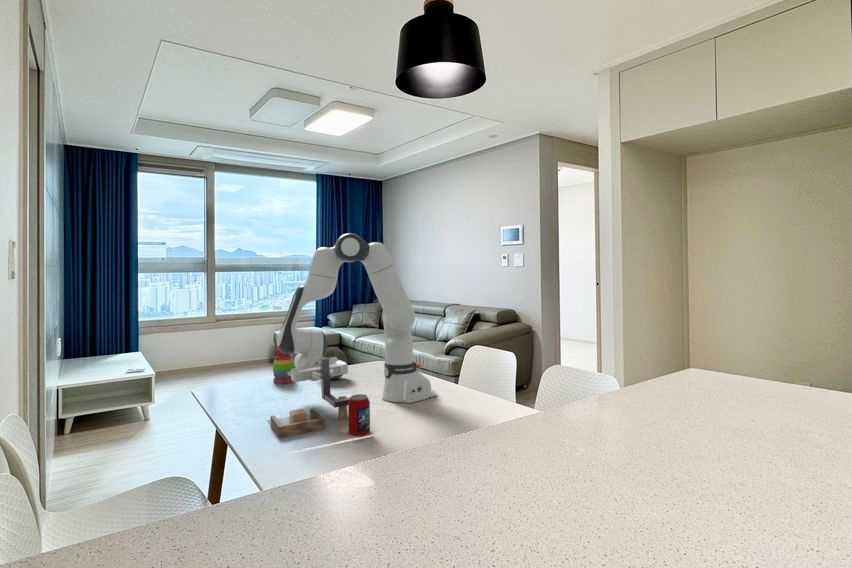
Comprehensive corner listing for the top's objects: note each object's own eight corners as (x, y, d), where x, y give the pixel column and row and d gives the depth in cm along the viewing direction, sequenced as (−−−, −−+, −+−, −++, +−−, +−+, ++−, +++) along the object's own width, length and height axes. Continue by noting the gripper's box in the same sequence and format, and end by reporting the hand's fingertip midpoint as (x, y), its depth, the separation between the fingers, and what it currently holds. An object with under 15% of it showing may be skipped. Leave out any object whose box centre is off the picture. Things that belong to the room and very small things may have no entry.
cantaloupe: (332, 374, 226) (332, 343, 225) (353, 378, 218) (353, 346, 217) (309, 380, 215) (309, 348, 214) (331, 385, 206) (330, 351, 206)
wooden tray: (308, 415, 166) (308, 403, 166) (324, 431, 150) (324, 418, 149) (266, 422, 159) (266, 410, 158) (279, 440, 142) (278, 427, 142)
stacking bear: (299, 378, 217) (298, 341, 217) (291, 384, 207) (290, 345, 207) (277, 378, 219) (276, 341, 218) (268, 384, 208) (267, 345, 208)
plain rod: (345, 418, 162) (344, 395, 161) (347, 420, 160) (347, 397, 159) (338, 419, 161) (338, 397, 160) (340, 421, 159) (340, 398, 158)
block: (303, 421, 157) (303, 408, 157) (307, 425, 153) (306, 412, 153) (289, 424, 155) (289, 410, 155) (293, 428, 151) (293, 414, 151)
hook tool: (344, 393, 166) (342, 355, 165) (357, 403, 155) (356, 361, 154) (321, 397, 162) (320, 358, 161) (334, 407, 151) (332, 365, 150)
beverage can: (366, 438, 143) (365, 400, 143) (345, 437, 145) (344, 399, 144) (372, 430, 150) (372, 394, 149) (353, 429, 151) (352, 393, 151)
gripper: (285, 363, 167) (295, 371, 155) (339, 356, 177) (353, 362, 165) (286, 381, 167) (296, 390, 155) (340, 372, 177) (353, 380, 165)
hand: (326, 375), depth 160 cm, fingers closed on hook tool, 2 cm apart
